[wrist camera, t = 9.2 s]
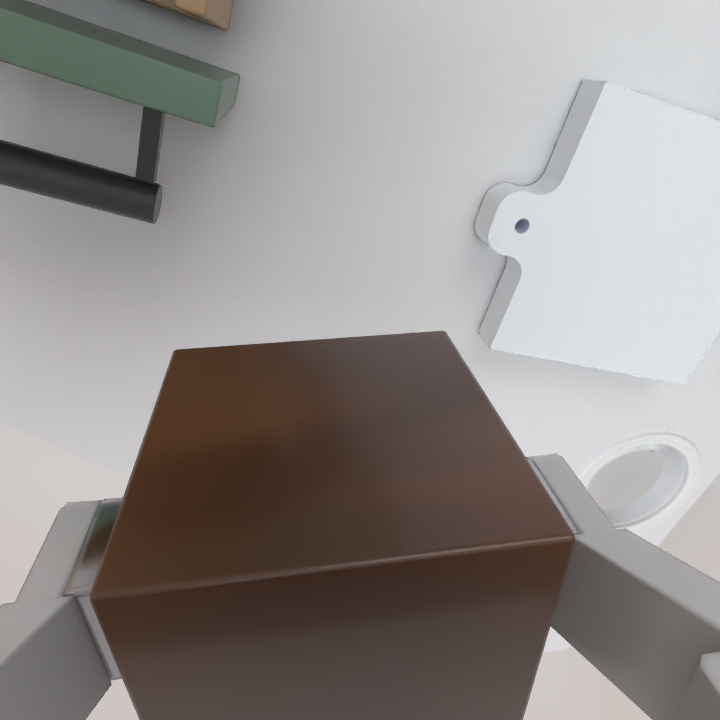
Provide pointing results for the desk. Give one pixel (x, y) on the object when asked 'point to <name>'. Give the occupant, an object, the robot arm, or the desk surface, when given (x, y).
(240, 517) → the block
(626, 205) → the mounting plate
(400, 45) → the desk surface
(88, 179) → the drawer
